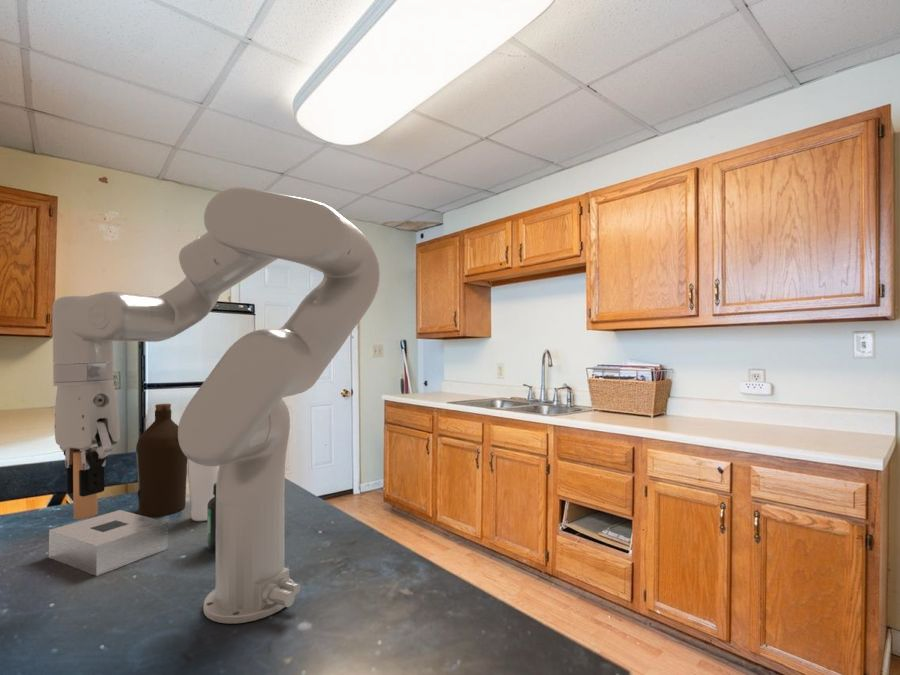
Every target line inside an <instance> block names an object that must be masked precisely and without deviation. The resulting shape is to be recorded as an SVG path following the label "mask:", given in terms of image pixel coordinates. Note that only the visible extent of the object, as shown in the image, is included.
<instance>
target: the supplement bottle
mask: <svg viewBox="0 0 900 675" xmlns="http://www.w3.org/2000/svg"><path fill="white" fill-rule="evenodd" d="M213 495H215V497H213V498H212V499H211V500H210V501H209V502H208V506H207V520H206V522H207V523H206V524H207V526H206V528H207V530H206V532H207V537H206V539H207V540H206V541H207V542H206V543H207V546H206V547H207V550H209V551H210V552H212V553H216V483H215V484H214V485H213Z"/></svg>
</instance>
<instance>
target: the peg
mask: <svg viewBox="0 0 900 675" xmlns="http://www.w3.org/2000/svg"><path fill="white" fill-rule="evenodd" d="M94 452H96V451H94ZM92 453H93V452H89V458H90V456H91V454H92ZM79 470H83V469H82V459H81V450H80V451H77V452H74V453H73V498H72V499H73V519H74V520H86V519H90V518H93V517H97V515H98V514H99V496H98V494H99V493H96V494H92V495H88V496H84V497H83V496H80V495H79Z"/></svg>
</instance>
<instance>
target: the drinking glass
mask: <svg viewBox="0 0 900 675" xmlns="http://www.w3.org/2000/svg"><path fill="white" fill-rule="evenodd" d="M218 470H219V466H203V465H199V464H197V463H194V462H193V461H191V460H190V459H188V460H187V479H188V489H189V490H188V491H189V500H190V501H189V502H190V517H191V520H192V521H194V522H207V506H208V502H209V501H210V500H211V499H212V498H213V497H215V495H213V485H214V484H215V483H217V475H218Z"/></svg>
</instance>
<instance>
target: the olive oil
mask: <svg viewBox="0 0 900 675" xmlns="http://www.w3.org/2000/svg"><path fill="white" fill-rule="evenodd" d="M154 406H155V410H154V421H153V422H152V423H151V424H150V426H148V427H147V428H146V429H145V430H144V432H142V434H140V436H139V438H138V439H137V443H136V446H135V447H136V448H135V454H136V457H135V458H136V474H137V476H136V477H137V499H138V515H142V516H145V517H149V518H152V517H161V516H163V517H164V516H167V515H171V514H175V513H178V512H181V511H182V510H184V509H185V508H186V503H187V502H186V495H187V494H186V493H187V478H188V458H187V457H186V456H185V454H184V453H183V451H182V450H181V448H180V445H179V441H178V426H179V424H177V423H175V422H174V421H173V419H172V409H171V407H172V404H171V403H157V404H155V405H154Z"/></svg>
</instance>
